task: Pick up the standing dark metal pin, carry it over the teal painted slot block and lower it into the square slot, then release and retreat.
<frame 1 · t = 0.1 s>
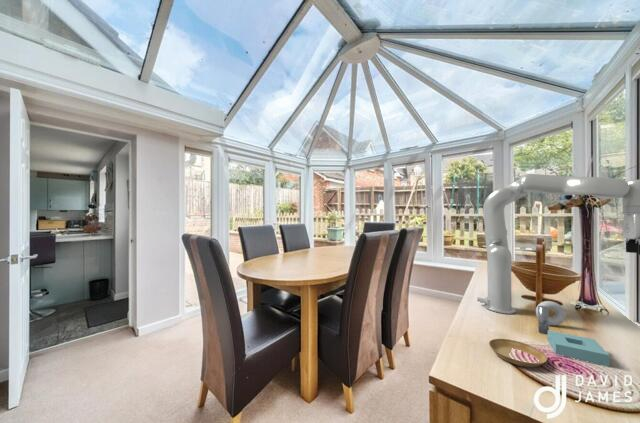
hand: (638, 253, 98), 31 cm above the sideboard, fingers open, 9 cm apart
plant saucer: (516, 358, 80), on the sideboard
steel pin: (543, 332, 97), on the sideboard
slot block: (575, 352, 83), on the sideboard
donut: (550, 325, 104), on the sideboard
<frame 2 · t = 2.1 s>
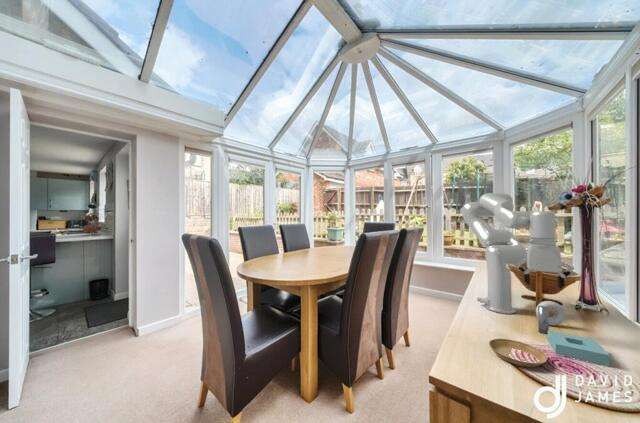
hand: (543, 285, 98), 18 cm above the sideboard, fingers open, 9 cm apart
nothing on the sideboard moved.
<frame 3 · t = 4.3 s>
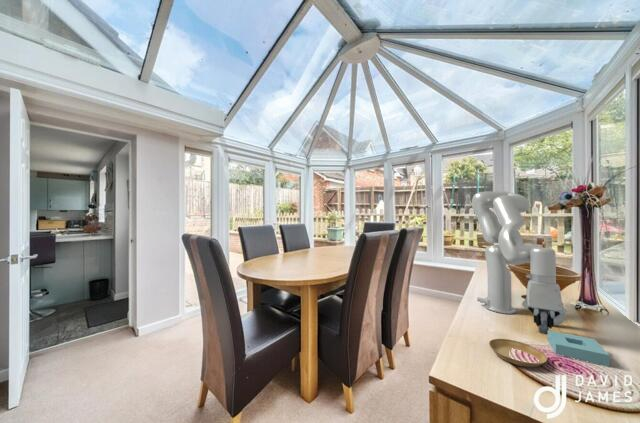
hand: (543, 325, 97), 3 cm above the sideboard, fingers closed on steel pin, 3 cm apart
steel pin: (543, 332, 97), on the sideboard, touching gripper
everything else where it was.
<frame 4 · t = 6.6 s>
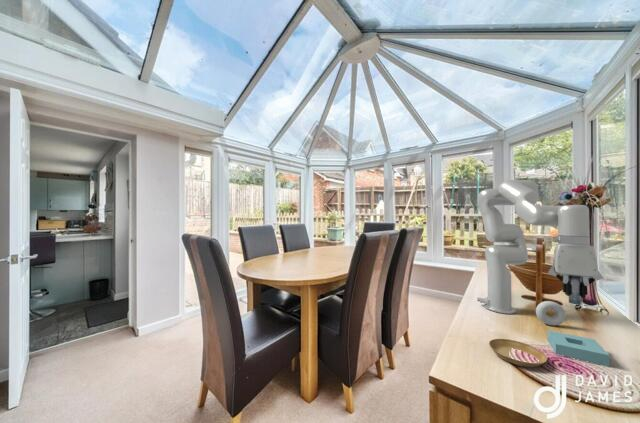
hand: (574, 295, 83), 19 cm above the sideboard, fingers closed on steel pin, 3 cm apart
steel pin: (574, 303, 83), point 16 cm above the sideboard, touching gripper
everything else where it was.
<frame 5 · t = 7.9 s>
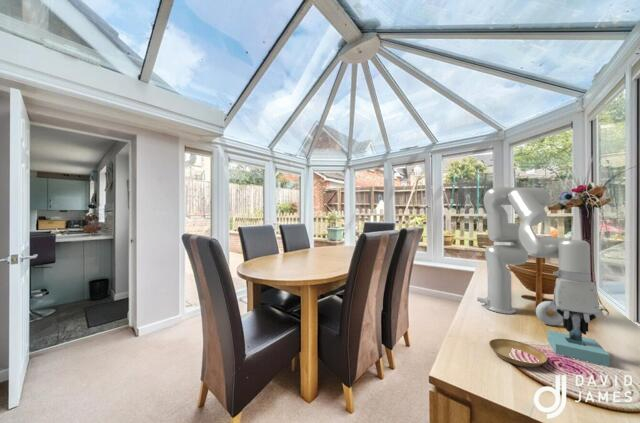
hand: (575, 331, 83), 7 cm above the sideboard, fingers closed on steel pin, 3 cm apart
steel pin: (575, 339, 83), point 4 cm above the sideboard, touching gripper
everything else where it was.
when the fingers open (4 cm above the sideboard, at t = 8.7 s): steel pin drops 2 cm, resting in slot block.
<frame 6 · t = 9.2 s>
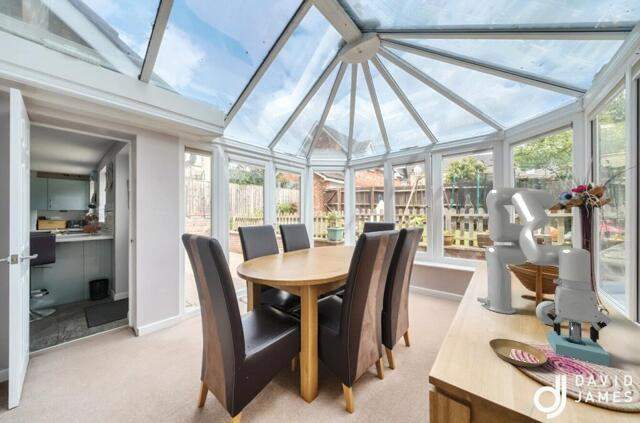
hand: (575, 337, 83), 5 cm above the sideboard, fingers open, 8 cm apart
steel pin: (575, 352, 83), resting in slot block
everything else where it was.
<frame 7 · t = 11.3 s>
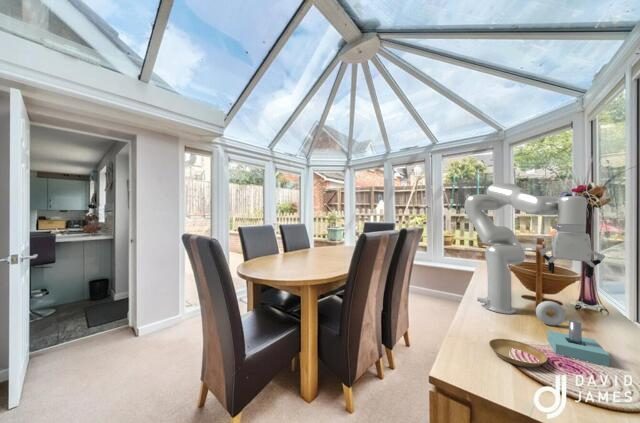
hand: (569, 274, 93), 24 cm above the sideboard, fingers open, 9 cm apart
nothing on the sideboard moved.
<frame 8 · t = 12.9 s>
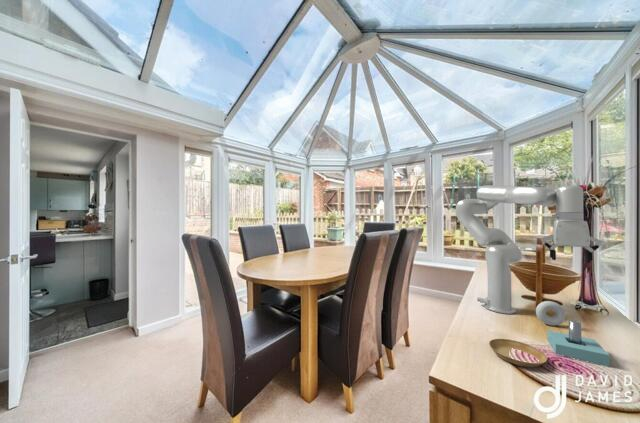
hand: (570, 260, 97), 28 cm above the sideboard, fingers open, 9 cm apart
nothing on the sideboard moved.
at the end: steel pin 0.0 cm off-centre on the slot block, point 0.0 cm above the slot block's base; steel pin tilted 1°; the gripper is holding nothing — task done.
